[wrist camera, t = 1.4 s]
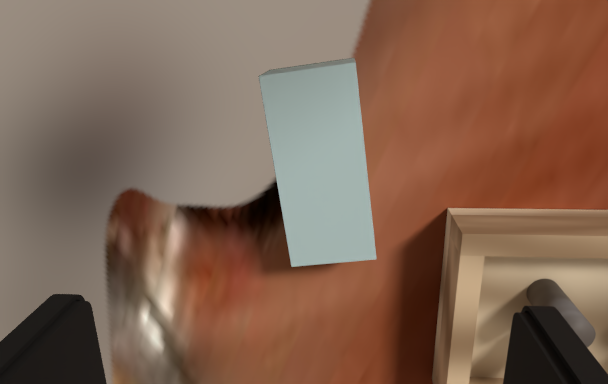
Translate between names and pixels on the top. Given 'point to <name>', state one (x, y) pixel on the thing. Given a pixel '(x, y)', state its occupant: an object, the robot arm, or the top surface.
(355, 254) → the block
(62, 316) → the robot arm
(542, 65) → the top surface
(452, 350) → the wooden drawer
